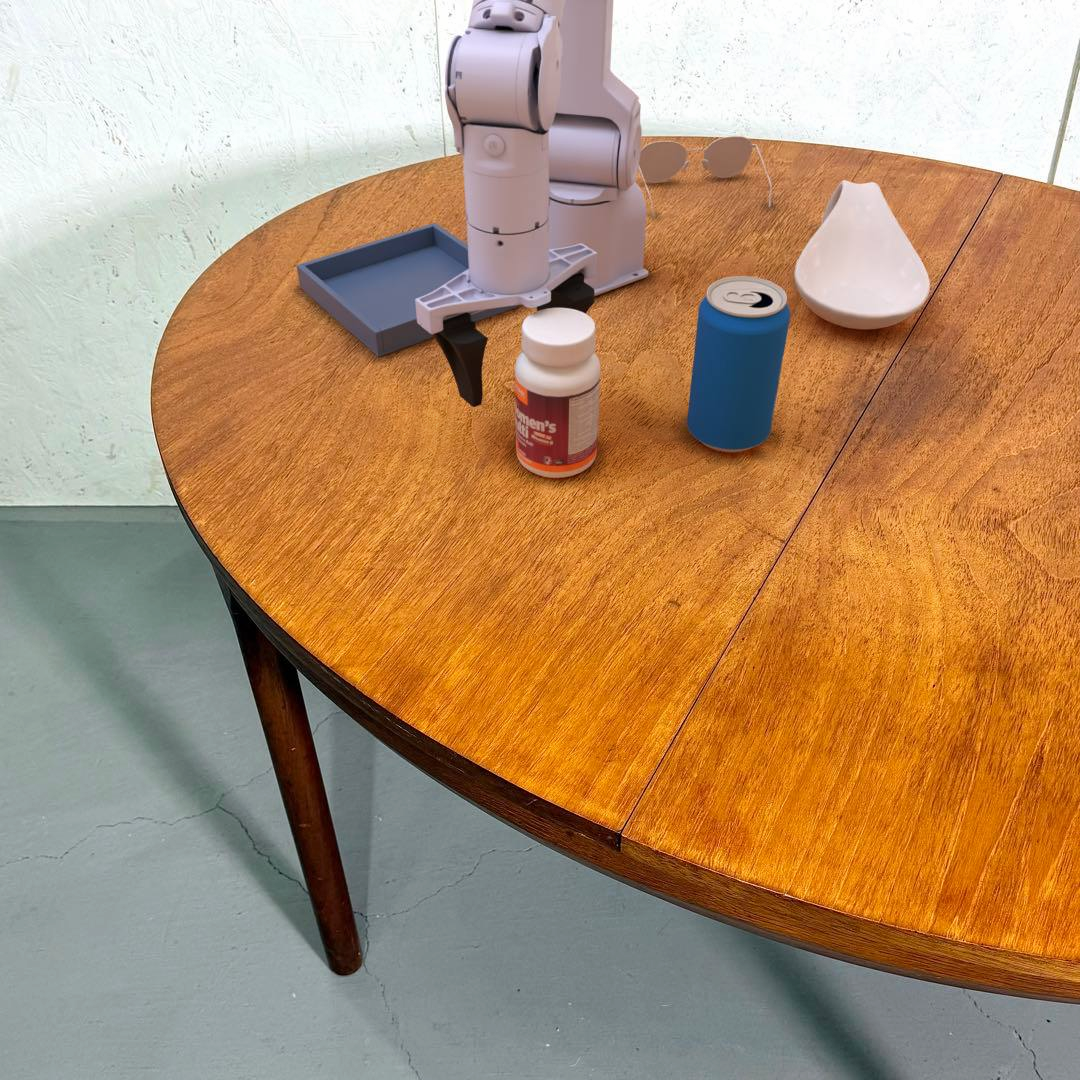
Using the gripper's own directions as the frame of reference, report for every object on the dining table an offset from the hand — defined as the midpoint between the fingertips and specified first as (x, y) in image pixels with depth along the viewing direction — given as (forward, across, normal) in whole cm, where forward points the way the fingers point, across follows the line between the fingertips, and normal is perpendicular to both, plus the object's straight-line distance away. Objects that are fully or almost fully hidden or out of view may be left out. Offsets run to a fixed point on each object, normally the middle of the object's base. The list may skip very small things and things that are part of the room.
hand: (512, 383), depth 82 cm
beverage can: (+4, +13, -11) cm, 17 cm away
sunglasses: (+4, +40, +23) cm, 47 cm away
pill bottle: (+4, 0, -6) cm, 7 cm away
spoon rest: (+4, +38, 0) cm, 39 cm away
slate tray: (+3, +4, +22) cm, 23 cm away
